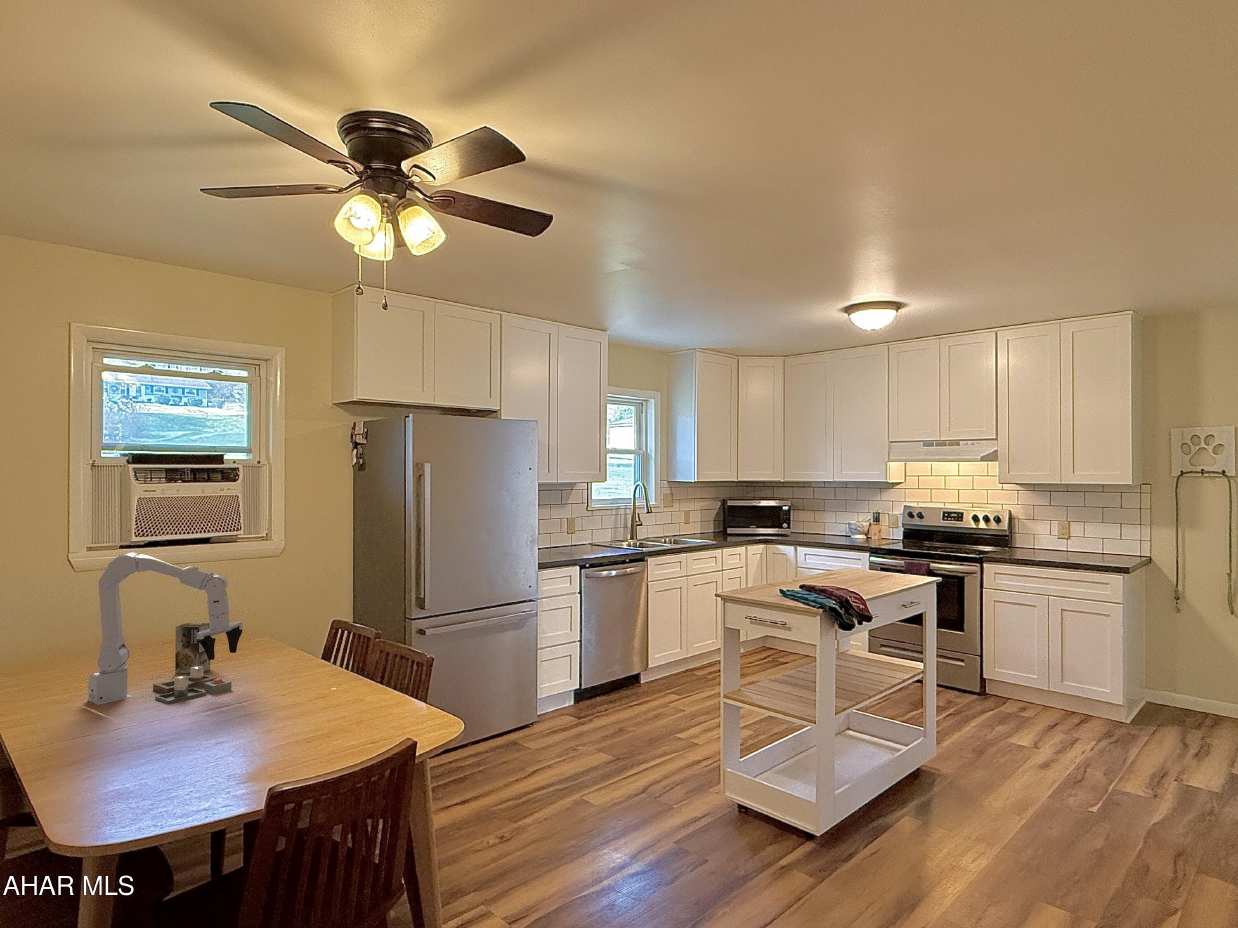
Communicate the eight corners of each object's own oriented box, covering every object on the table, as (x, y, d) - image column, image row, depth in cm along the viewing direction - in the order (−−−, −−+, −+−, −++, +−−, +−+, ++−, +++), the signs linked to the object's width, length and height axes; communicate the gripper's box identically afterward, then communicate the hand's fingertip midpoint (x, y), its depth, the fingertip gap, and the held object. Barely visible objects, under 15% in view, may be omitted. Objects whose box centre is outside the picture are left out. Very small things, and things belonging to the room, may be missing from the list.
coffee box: (211, 668, 256) (212, 622, 257) (198, 673, 250) (199, 626, 250) (186, 668, 257) (187, 622, 257) (174, 672, 251) (174, 625, 251)
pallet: (166, 696, 224) (167, 688, 224) (153, 691, 229) (153, 683, 229) (216, 685, 236) (216, 677, 236) (202, 680, 241) (202, 673, 241)
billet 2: (193, 688, 233) (194, 669, 233) (188, 686, 235) (188, 667, 235) (205, 685, 236) (205, 667, 236) (199, 683, 238) (199, 665, 238)
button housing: (213, 695, 225) (213, 685, 225) (203, 692, 228) (204, 682, 228) (231, 691, 230) (231, 681, 230) (222, 688, 233) (222, 678, 233)
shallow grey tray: (168, 705, 215) (168, 700, 215) (155, 700, 220) (155, 695, 220) (206, 696, 224) (206, 691, 224) (193, 692, 229) (193, 687, 229)
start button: (215, 688, 227) (216, 680, 227) (211, 687, 229) (212, 679, 229) (223, 686, 229) (223, 679, 229) (219, 685, 231) (219, 677, 231)
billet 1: (177, 699, 219) (178, 679, 220) (171, 697, 221) (172, 677, 222) (190, 696, 222) (190, 676, 223) (184, 694, 224) (184, 675, 225)
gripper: (206, 619, 223) (209, 663, 223) (247, 608, 236) (251, 650, 236) (190, 618, 226) (194, 662, 226) (232, 608, 239) (236, 649, 239)
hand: (222, 655), depth 232 cm, fingers open, 7 cm apart
